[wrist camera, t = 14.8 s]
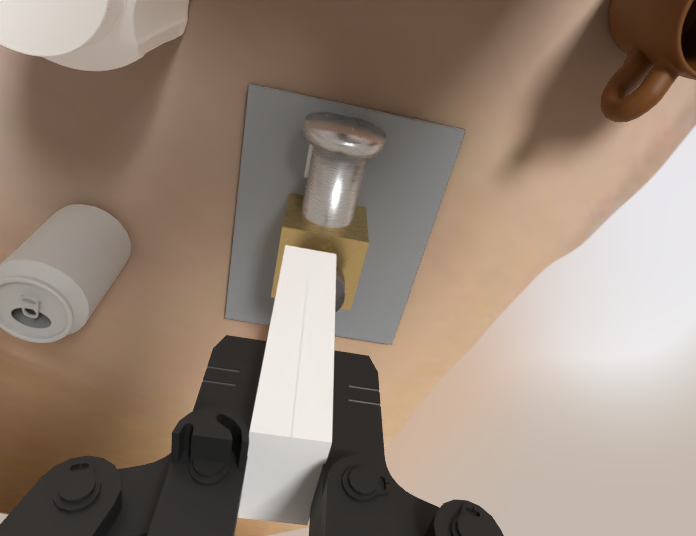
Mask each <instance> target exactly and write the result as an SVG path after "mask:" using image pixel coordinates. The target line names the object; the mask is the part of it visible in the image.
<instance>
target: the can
mask: <svg viewBox="0 0 696 536" xmlns="http://www.w3.org/2000/svg"><path fill="white" fill-rule="evenodd" d="M130 254H131V241H130V238H129V236H128V233H127V231H126V230H125V228H124V227H123V226H122V225H121V223H120V222H119V221H118V220H117V219H116V218H114V217H113V216H112V215H110V214H109V213H108V212H106V211H103V210H101V209H99V208H97V207H95V206H89V205H84V204H76V205H68V206H66V207H63V208H61V209H59V210H57V211H56V212H55V213H54V214H53V215H52V216H51V217H50V218H49V219H48V220H47V221H46V222H45V223H44V224H42V225H41V226H40V227H39V228H38V229H37V230H36V231H35V232H34V233H33V234H32V235H31V236H30V237H29V238H27V239H26V240H25V241H24V242H23V243H22V244H21V245H20V246H19V247H18V248H17V249H16V250H15V251H14V252H13V253H11V254H10V255H9V256H8V257H7V258H6V259H5V260H4V261H3V262H2V263H1V264H0V327H1V328H2V329H3V330H4V331H6V332H8V333H9V334H11V335H13V336H14V337H17V338H20V339H22V340H25V341H29V342H36V343H50V342H55V341H57V340H60V339H62V338H64V337H65V336H67V335H70V334H72V333H75V332H77V331H78V330H79V329H80V328H82V327H83V326H84V325H85V324H86V322H87V321H88V319H89V318H90V316H91V315H92V313H93V312H94V310H95V309H96V307H97V306H98V304H99V303H100V302H101V300H102V299H103V297H104V296H105V294H106V293H107V291H108V290H109V288H110V287H111V285H112V284H113V282H114V281H115V279H116V278H117V276H118V275H119V274H120V272H121V271H122V269H123V268H124V266H125V265H126V263H127V262H128V259H129V257H130Z"/></svg>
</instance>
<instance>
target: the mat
mask: <svg viewBox="0 0 696 536" xmlns="http://www.w3.org/2000/svg"><path fill="white" fill-rule="evenodd" d="M317 112H330V113H334V114H339V115H344V116H349V117H353V118H358V119H362V120H365V121H368V122H370V123H372V124H374V125H376V126H378V127H379V128H381V129H382V130H383V131H384V132H385V133H386V140H385V144H384V148H383V152H382V154H381V155H379V156H377V157H374V158H368V160H367V164H366V168H365V172H364V176H363V180H362V184H361V188H360V192H359V196H358V200H357V204H356V205H357V206H362V207H366V212H367V224H368V236H369V245H368V249H367V252H366V256H365V260H364V263H363V267H362V271H361V274H360V278H359V282H358V285H357V289H356V293H355V296H354V300H353V304H352V307H351V311H350V310H344V309H339V310H338V311H337V312H336V313H335V336H340V337H346V338H353V339H359V340H365V341H372V342H378V343H384V344H391V345H392V343H393V340H394V337H395V334H396V331H397V328H398V325H399V322H400V320H401V317H402V314H403V311H404V308H405V305H406V302H407V299H408V296H409V293H410V291H411V288H412V285H413V282H414V279H415V276H416V273H417V270H418V267H419V264H420V262H421V259H422V256H423V253H424V250H425V247H426V244H427V241H428V238H429V235H430V233H431V230H432V227H433V224H434V221H435V218H436V215H437V212H438V209H439V206H440V204H441V201H442V198H443V195H444V192H445V189H446V186H447V183H448V180H449V177H450V174H451V172H452V169H453V166H454V163H455V160H456V157H457V154H458V151H459V148H460V145H461V143H462V140H463V137H464V134H465V130H464V129H461V128H456V127H452V126H447V125H442V124H438V123H433V122H428V121H424V120H419V119H414V118H410V117H405V116H400V115H396V114H391V113H386V112H382V111H377V110H373V109H368V108H363V107H359V106H354V105H349V104H345V103H340V102H335V101H331V100H326V99H321V98H317V97H312V96H307V95H303V94H298V93H293V92H289V91H284V90H279V89H275V88H270V87H266V86H261V85H256V84H252V83H250V84H249V89H248V98H247V108H246V118H245V128H244V138H243V147H242V157H241V167H240V177H239V187H238V196H237V206H236V216H235V226H234V236H233V245H232V255H231V265H230V275H229V285H228V294H227V304H226V314H225V318H226V319H232V320H239V321H245V322H251V323H258V324H264V325H270V322H271V317H272V312H273V307H274V302H275V298H271V293H272V287H273V281H274V275H275V268H276V262H277V256H278V250H279V244H280V237H281V231H282V225H283V221H284V216H285V212H286V207H287V202H288V198H289V193H294V194H299V195H305V189H306V184H307V178H305V177H304V173H305V168H306V162H307V156H308V151H309V145H310V144H309V143H308V142H307V141H306V140H305V139H304V138H303V136H302V133H303V127H304V121H305V117H306V116H307V115H309V114H311V113H317Z"/></svg>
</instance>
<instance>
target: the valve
mask: <svg viewBox="0 0 696 536" xmlns="http://www.w3.org/2000/svg"><path fill="white" fill-rule="evenodd" d="M302 136H303V138H304V139H305V140H306V141H307V142H308V143H309V144H310V145H309V151H308V156H307V162H306V168H305V173H304V177H305V178H307V184H306V189H305V195H299V194H294V193H289V198H288V202H287V207H286V212H285V216H284V221H283V225H282V231H281V237H280V244H279V250H278V256H277V262H276V268H275V275H274V281H273V287H272V293H271V298H275V297H276V291H277V286H278V281H279V276H280V271H281V266H282V260H283V255H284V250H285V245H288V246H294V247H299V248H305V249H311V250H316V251H322V252H327V253H333V254H336V265H337V266H338V267H339V268H340V269H341V270H342V272H343V274H344V278H345V299H344V303H343V305H342V307H341V308H340V309H344V310H350V311H351V307H352V304H353V300H354V296H355V293H356V289H357V285H358V282H359V278H360V274H361V271H362V267H363V263H364V260H365V256H366V252H367V249H368V245H369V236H368V224H367V212H366V207H362V206H357V205H356V204H357V200H358V196H359V192H360V188H361V184H362V180H363V176H364V172H365V168H366V164H367V160H368V158H374V157H377V156H379V155H381V154H382V152H383V148H384V144H385V140H386V133H385V132H384V131H383V130H382V129H381V128H379V127H378V126H376V125H374V124H372V123H370V122H368V121H365V120H362V119H358V118H353V117H349V116H344V115H339V114H334V113H330V112H317V113H311V114H309V115H307V116H306V117H305V121H304V127H303V133H302Z"/></svg>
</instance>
